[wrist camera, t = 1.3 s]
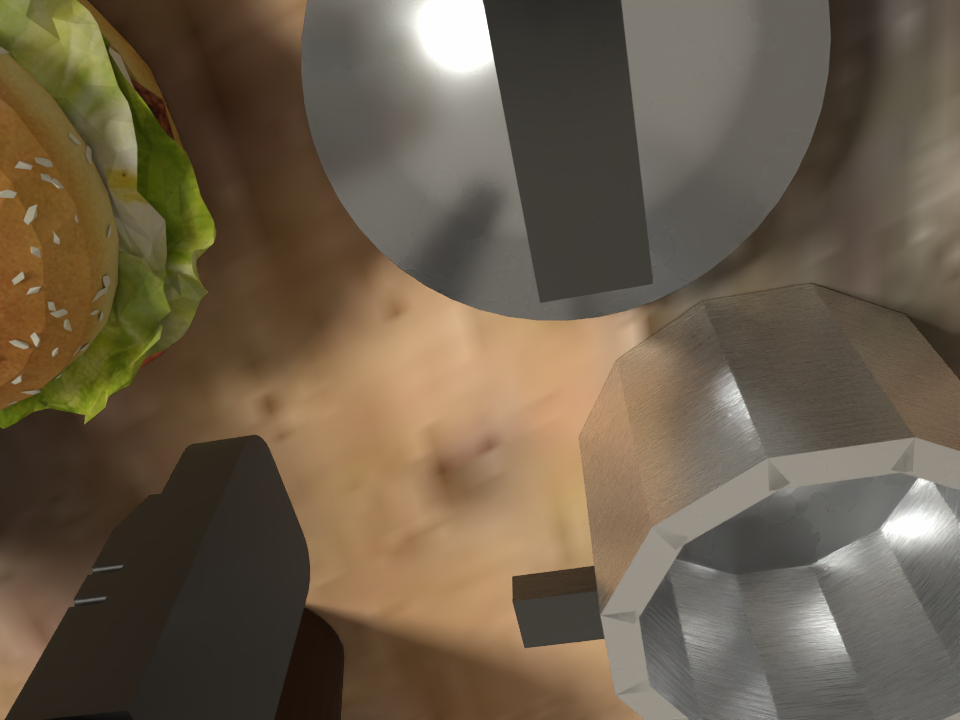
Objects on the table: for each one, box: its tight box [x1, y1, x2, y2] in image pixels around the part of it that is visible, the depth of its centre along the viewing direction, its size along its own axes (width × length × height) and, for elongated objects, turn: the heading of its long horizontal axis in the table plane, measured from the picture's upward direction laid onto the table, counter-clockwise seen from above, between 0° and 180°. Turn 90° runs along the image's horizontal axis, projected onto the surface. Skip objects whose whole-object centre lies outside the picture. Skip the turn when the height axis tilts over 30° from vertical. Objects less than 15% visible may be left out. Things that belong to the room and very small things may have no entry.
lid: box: [301, 0, 831, 320], centre depth 21 cm, size 13×13×7 cm
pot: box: [512, 283, 960, 720], centre depth 27 cm, size 12×17×8 cm
